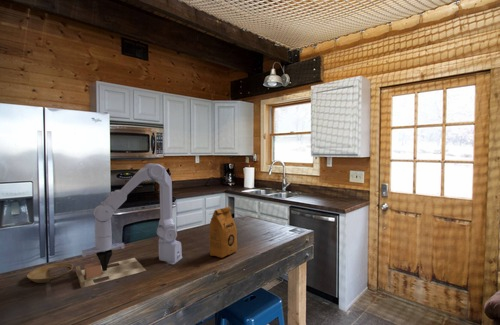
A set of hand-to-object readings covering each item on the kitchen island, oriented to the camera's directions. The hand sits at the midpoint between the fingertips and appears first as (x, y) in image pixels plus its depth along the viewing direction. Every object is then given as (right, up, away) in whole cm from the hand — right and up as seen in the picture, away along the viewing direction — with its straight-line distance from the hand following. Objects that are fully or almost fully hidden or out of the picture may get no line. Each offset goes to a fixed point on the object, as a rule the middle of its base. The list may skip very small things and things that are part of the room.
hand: (104, 270), depth 107 cm
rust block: (-3, -1, -2) cm, 4 cm away
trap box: (+2, -2, +2) cm, 3 cm away
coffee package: (+45, -1, +22) cm, 50 cm away
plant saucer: (-21, -3, 0) cm, 21 cm away
